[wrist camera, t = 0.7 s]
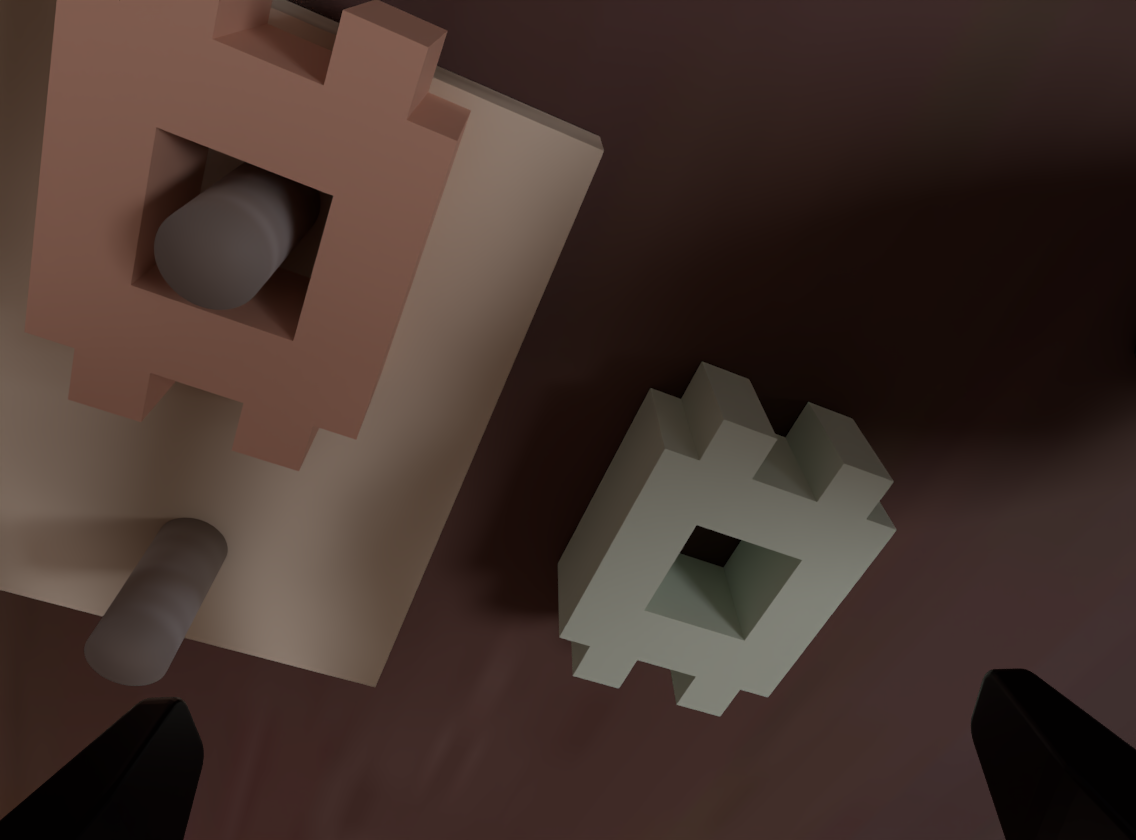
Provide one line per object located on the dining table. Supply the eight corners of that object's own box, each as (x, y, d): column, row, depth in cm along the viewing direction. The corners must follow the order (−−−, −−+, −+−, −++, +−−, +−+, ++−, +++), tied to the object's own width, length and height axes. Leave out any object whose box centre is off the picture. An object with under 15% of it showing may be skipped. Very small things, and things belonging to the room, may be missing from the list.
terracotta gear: (491, 50, 16) (481, 70, 13) (367, 414, 20) (340, 484, 17) (153, -102, 14) (67, -112, 12) (92, 323, 18) (19, 384, 16)
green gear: (880, 429, 22) (925, 493, 20) (727, 647, 26) (747, 724, 24) (670, 349, 21) (688, 406, 18) (542, 592, 25) (542, 667, 22)
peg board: (599, 136, 18) (619, 203, 13) (383, 650, 26) (347, 808, 21) (27, -113, 16) (-199, -139, 11) (-23, 540, 23) (-169, 692, 19)
